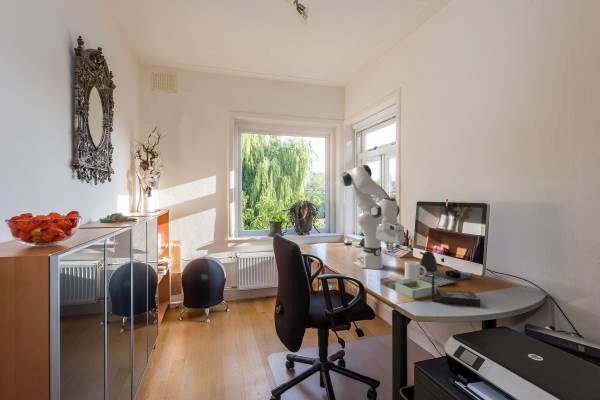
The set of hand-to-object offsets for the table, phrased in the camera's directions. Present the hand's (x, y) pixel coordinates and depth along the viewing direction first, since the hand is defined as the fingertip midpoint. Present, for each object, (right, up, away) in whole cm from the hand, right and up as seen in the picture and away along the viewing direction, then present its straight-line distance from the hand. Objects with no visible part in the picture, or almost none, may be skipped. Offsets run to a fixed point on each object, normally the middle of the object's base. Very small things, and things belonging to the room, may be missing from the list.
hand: (389, 249), depth 167 cm
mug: (+17, -19, +4) cm, 26 cm away
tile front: (+4, -16, -10) cm, 19 cm away
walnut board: (+3, -19, -6) cm, 21 cm away
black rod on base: (+22, -21, -29) cm, 41 cm away
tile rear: (+2, -16, -5) cm, 17 cm away
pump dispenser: (+29, -19, +14) cm, 37 cm away
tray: (+8, -20, -18) cm, 28 cm away
